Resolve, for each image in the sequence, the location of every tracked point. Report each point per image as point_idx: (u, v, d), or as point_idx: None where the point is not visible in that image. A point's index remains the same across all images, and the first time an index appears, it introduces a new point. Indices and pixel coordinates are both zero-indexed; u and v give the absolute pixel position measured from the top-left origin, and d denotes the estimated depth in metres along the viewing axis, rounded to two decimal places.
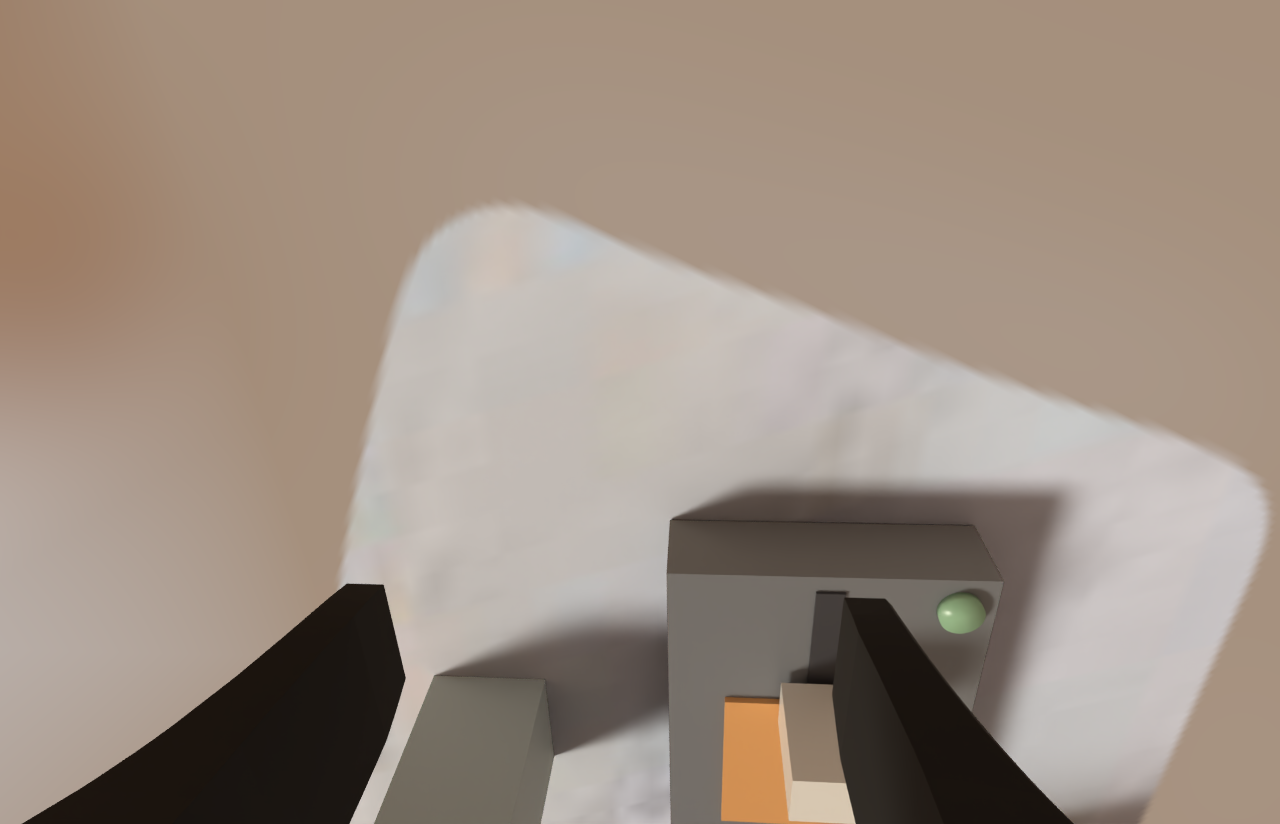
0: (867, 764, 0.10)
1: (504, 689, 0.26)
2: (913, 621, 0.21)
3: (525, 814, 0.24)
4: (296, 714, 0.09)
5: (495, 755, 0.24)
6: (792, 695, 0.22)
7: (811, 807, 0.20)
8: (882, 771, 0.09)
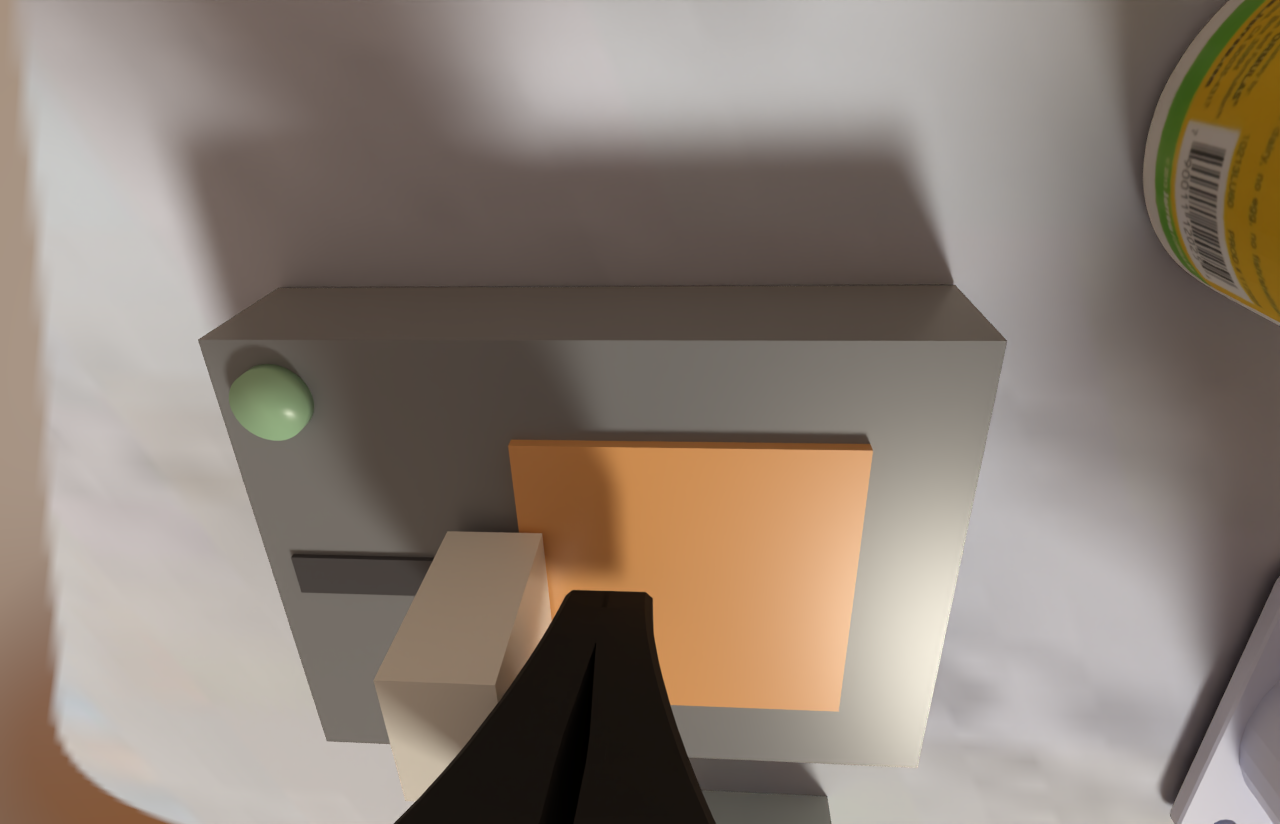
0: None
1: None
2: (322, 461, 0.13)
3: None
4: (577, 726, 0.09)
5: None
6: None
7: None
8: None
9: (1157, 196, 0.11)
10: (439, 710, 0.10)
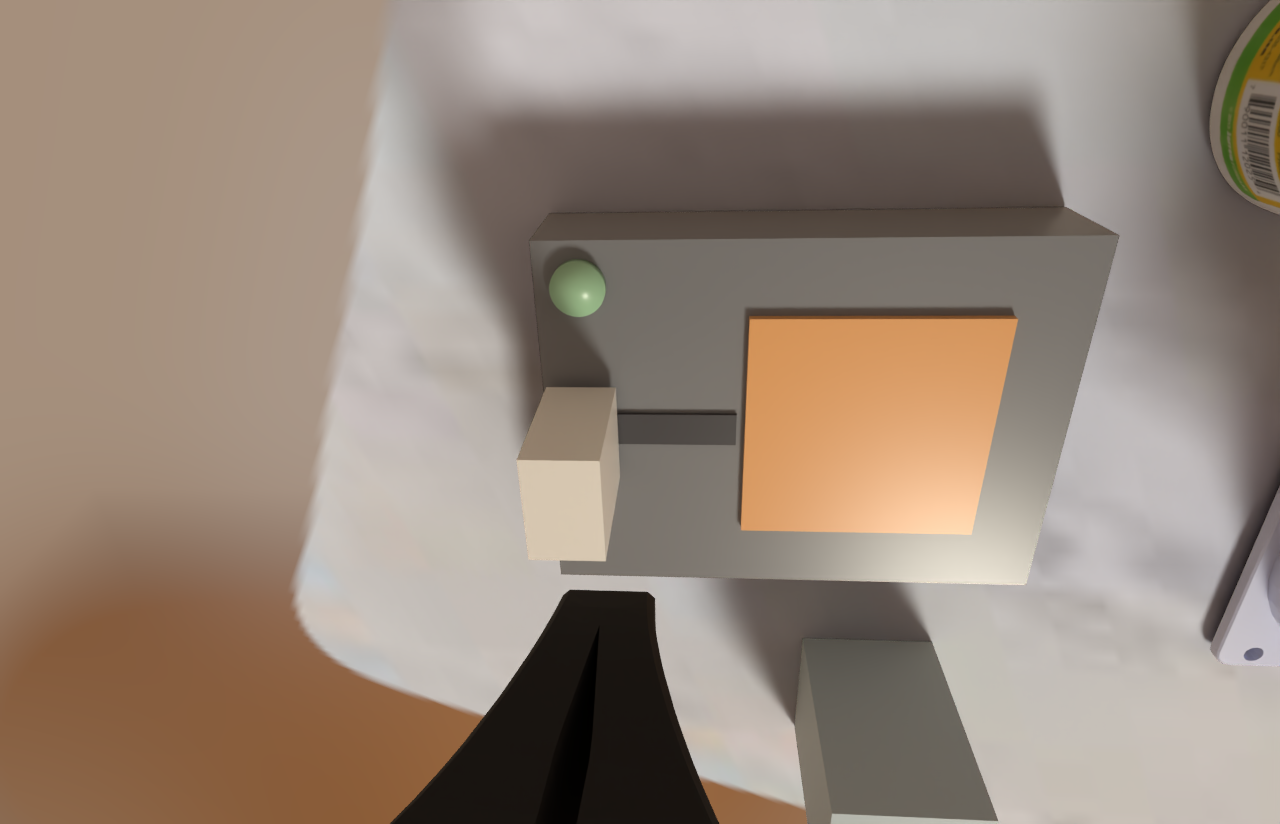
0: None
1: (801, 680, 0.24)
2: (603, 335, 0.17)
3: (879, 749, 0.20)
4: (574, 725, 0.09)
5: (813, 744, 0.22)
6: None
7: (575, 539, 0.15)
8: None
9: (1221, 136, 0.16)
10: (559, 482, 0.15)
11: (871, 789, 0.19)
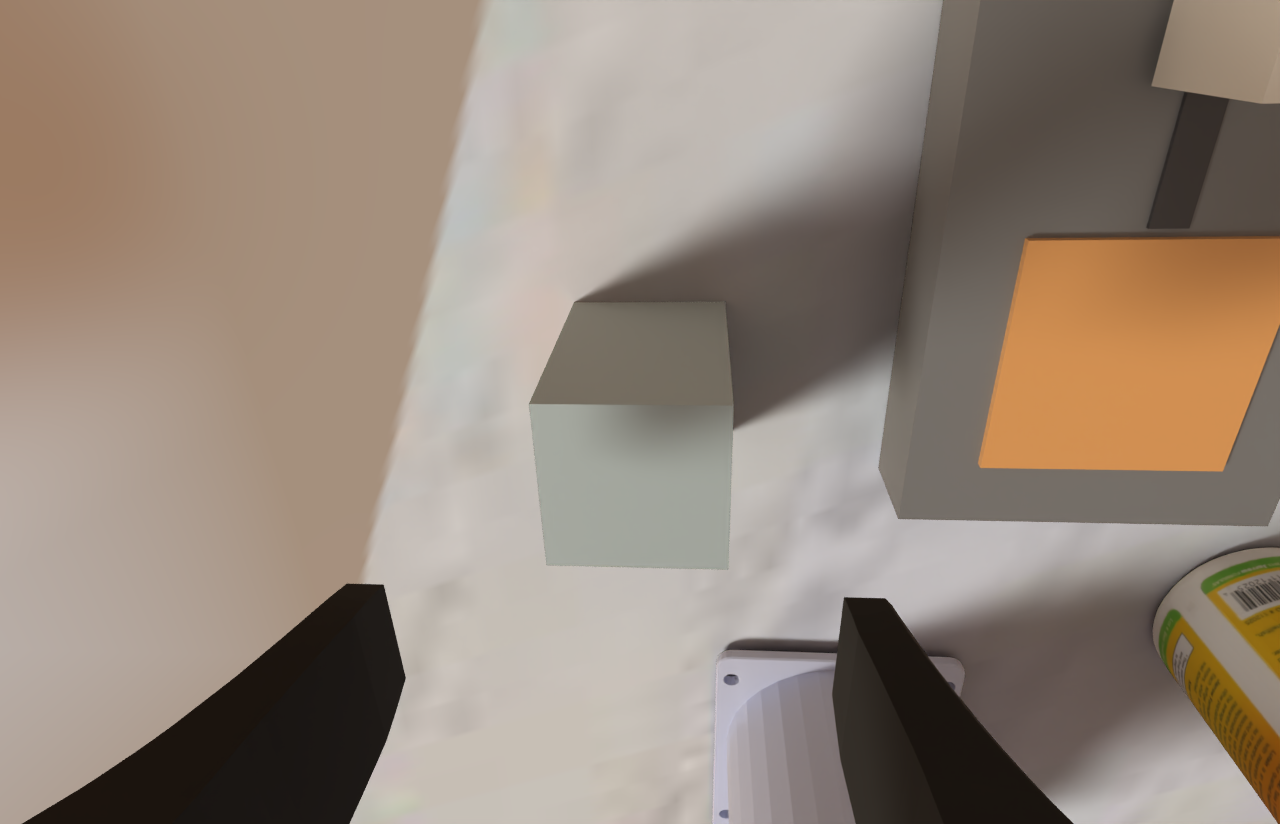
0: (867, 764, 0.10)
1: (673, 308, 0.20)
2: None
3: None
4: (296, 714, 0.09)
5: (685, 348, 0.17)
6: None
7: None
8: (882, 771, 0.09)
9: (1255, 561, 0.21)
10: None
11: None
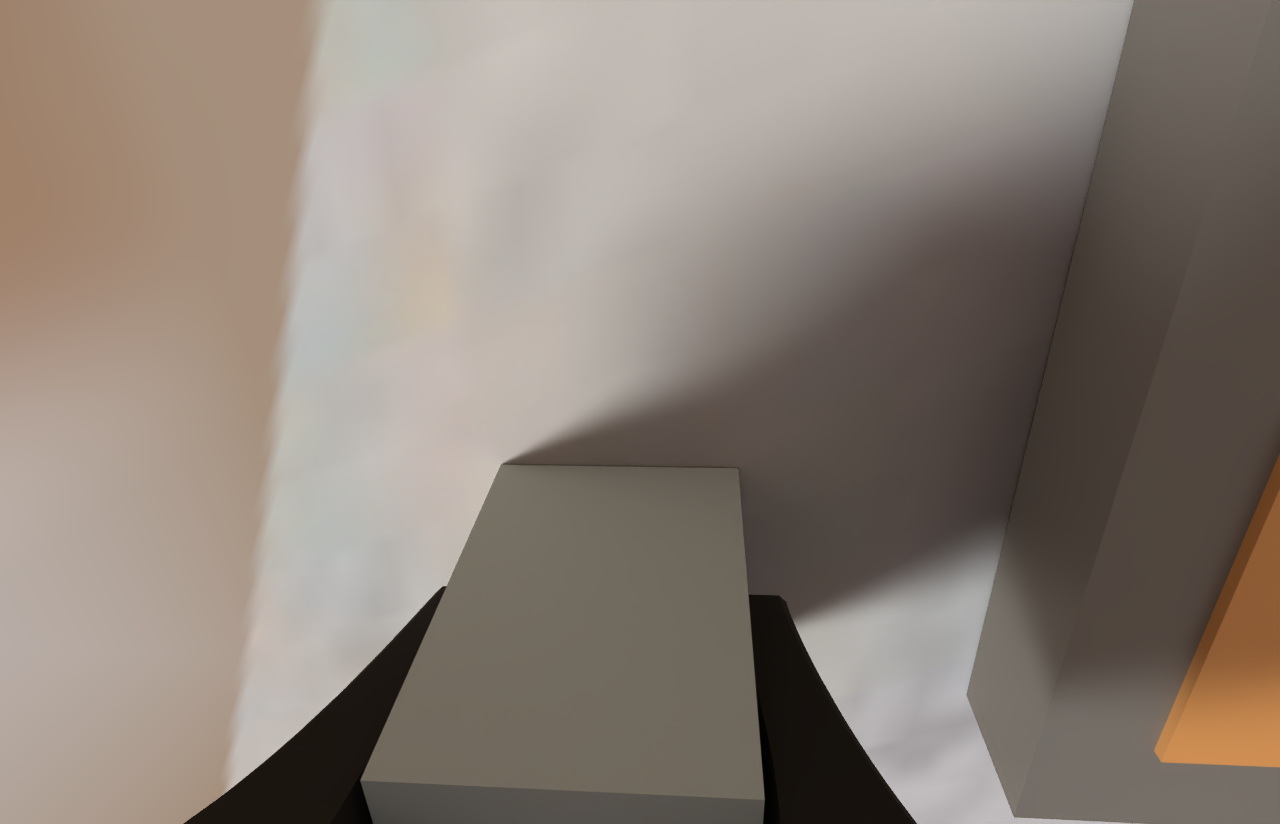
0: None
1: (655, 484, 0.12)
2: None
3: None
4: None
5: (672, 596, 0.10)
6: None
7: None
8: None
9: None
10: None
11: None
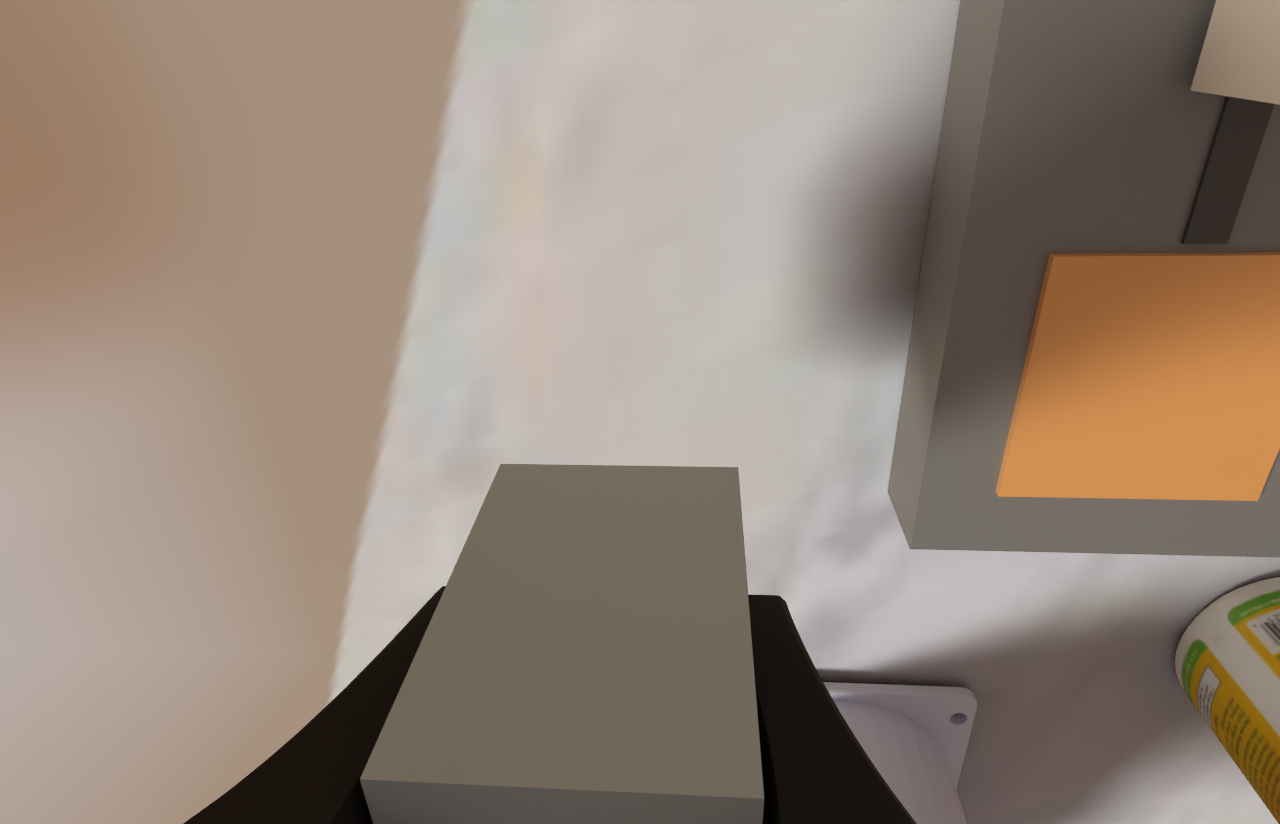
0: None
1: (654, 483, 0.12)
2: None
3: None
4: None
5: (671, 595, 0.10)
6: None
7: None
8: None
9: None
10: None
11: None
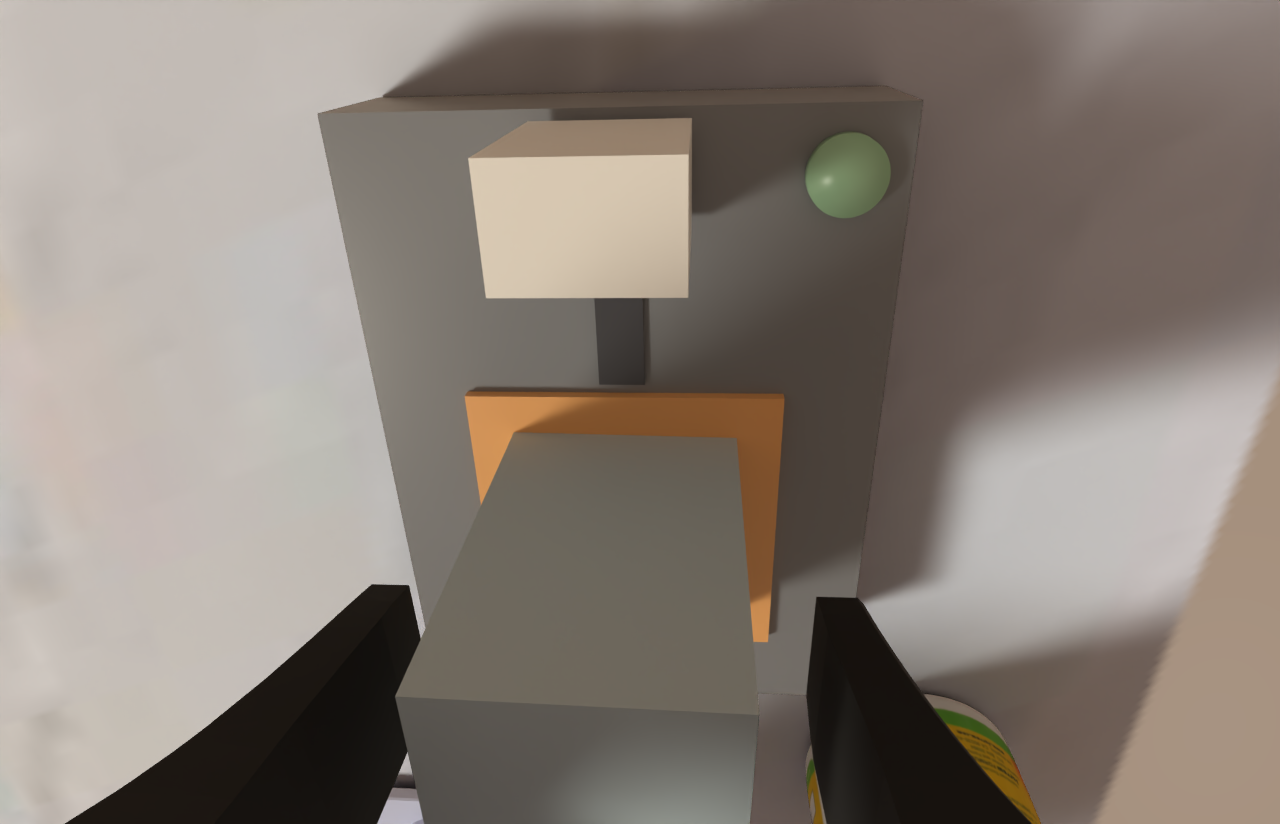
0: (836, 763, 0.10)
1: (659, 450, 0.13)
2: (766, 207, 0.12)
3: None
4: (327, 715, 0.09)
5: (674, 547, 0.11)
6: (541, 126, 0.11)
7: (526, 248, 0.09)
8: (848, 769, 0.09)
9: None
10: (643, 229, 0.08)
11: None
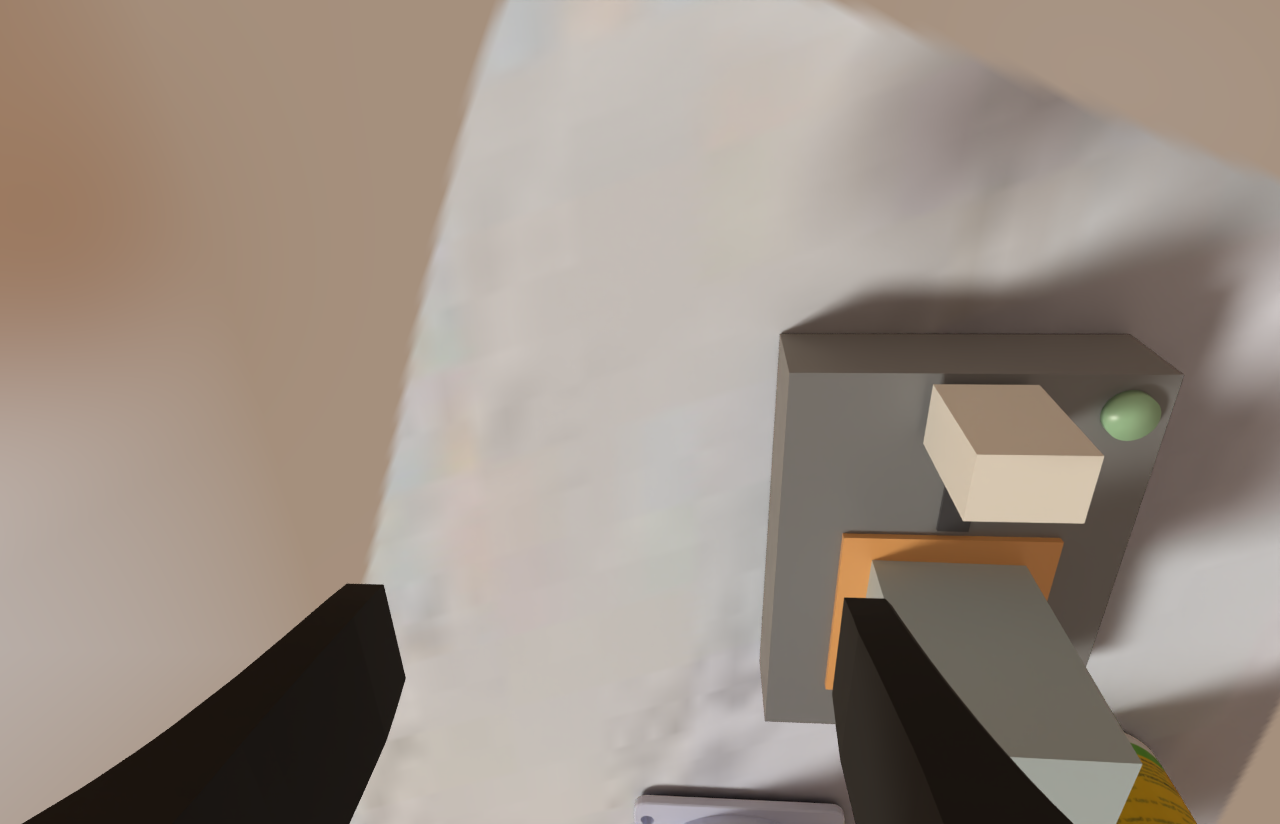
0: (867, 764, 0.10)
1: (980, 576, 0.20)
2: None
3: None
4: (296, 714, 0.09)
5: (1033, 653, 0.17)
6: (950, 393, 0.17)
7: (996, 497, 0.15)
8: (882, 771, 0.09)
9: None
10: (1067, 490, 0.15)
11: None
